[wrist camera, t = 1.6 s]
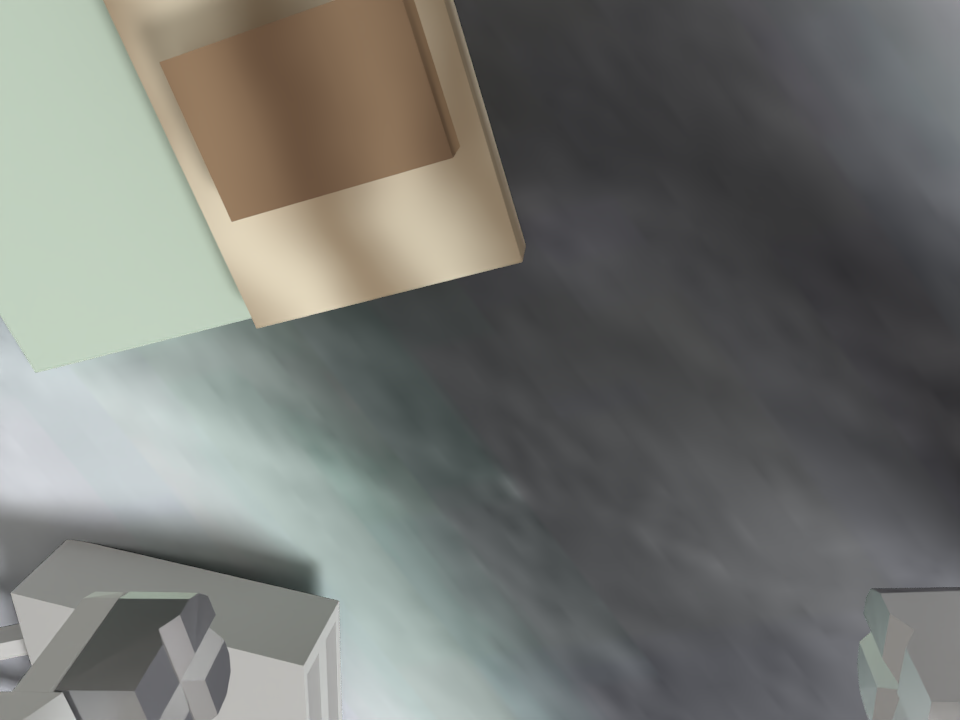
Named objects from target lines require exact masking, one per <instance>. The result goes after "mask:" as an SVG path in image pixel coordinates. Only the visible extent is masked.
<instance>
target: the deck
mask: <svg viewBox="0 0 960 720" xmlns="http://www.w3.org/2000/svg"><path fill="white" fill-rule="evenodd" d="M103 1H104V3H105V5H106V8H107V10H108V12H109V14H110V16H111V18H112V20H113V23H114V25H115V27H116V29H117V31H118V33H119V35H120V37H121V40H122V42H123V44H124V46H125V48H126V50H127V52H128V55H129V57H130V59H131V61H132V63H133V65H134V67H135V70H136V72H137V74H138V76H139V78H140V80H141V82H142V84H143V87H144V89H145V91H146V93H147V95H148V97H149V99H150V102H151V104H152V106H153V108H154V110H155V112H156V114H157V117H158V119H159V121H160V123H161V125H162V127H163V129H164V131H165V134H166V136H167V138H168V140H169V142H170V144H171V146H172V149H173V151H174V153H175V155H176V157H177V159H178V161H179V164H180V166H181V168H182V170H183V172H184V174H185V176H186V178H187V181H188V183H189V185H190V187H191V189H192V191H193V193H194V196H195V198H196V200H197V202H198V204H199V206H200V208H201V210H202V213H203V215H204V217H205V219H206V221H207V223H208V225H209V228H210V230H211V232H212V234H213V236H214V238H215V240H216V243H217V245H218V247H219V249H220V251H221V253H222V255H223V257H224V260H225V262H226V264H227V266H228V268H229V270H230V272H231V275H232V277H233V279H234V281H235V283H236V285H237V287H238V290H239V292H240V294H241V296H242V298H243V300H244V302H245V304H246V307H247V309H248V311H249V313H250V315H251V317H252V319H253V322H254V324H255V326H256V328H261V327H265V326H269V325H273V324H277V323H281V322H285V321H289V320H293V319H297V318H301V317H305V316H309V315H313V314H317V313H321V312H325V311H329V310H333V309H337V308H341V307H345V306H349V305H353V304H357V303H361V302H365V301H369V300H373V299H377V298H381V297H385V296H389V295H393V294H397V293H401V292H405V291H409V290H413V289H417V288H421V287H424V286H428V285H432V284H436V283H440V282H444V281H448V280H452V279H456V278H460V277H464V276H468V275H472V274H476V273H480V272H484V271H488V270H492V269H496V268H500V267H504V266H508V265H512V264H516V263H520V262H522V261H523V256H524V251H525V247H526V244H525V241H524V238H523V234H522V231H521V227H520V224H519V221H518V217H517V214H516V210H515V207H514V204H513V200H512V197H511V193H510V190H509V187H508V183H507V180H506V176H505V173H504V170H503V166H502V163H501V160H500V156H499V153H498V149H497V146H496V143H495V139H494V136H493V132H492V129H491V126H490V122H489V119H488V115H487V112H486V109H485V105H484V102H483V98H482V95H481V92H480V88H479V85H478V82H477V78H476V75H475V71H474V68H473V65H472V61H471V58H470V54H469V51H468V48H467V44H466V41H465V37H464V34H463V31H462V27H461V24H460V20H459V17H458V14H457V10H456V7H455V4H454V0H414V1H415V4H416V8H417V11H418V14H419V17H420V20H421V24H422V27H423V30H424V33H425V36H426V39H427V43H428V46H429V49H430V52H431V55H432V59H433V62H434V65H435V68H436V71H437V74H438V78H439V81H440V84H441V87H442V90H443V94H444V97H445V100H446V103H447V106H448V109H449V113H450V116H451V119H452V122H453V125H454V129H455V132H456V135H457V138H458V141H459V144H460V148H459V149H458V151H457V152H456V154H455V156H454V157H453V158H451V159H448V160H444V161H441V162H437V163H434V164H430V165H427V166H423V167H420V168H416V169H413V170H410V171H406V172H403V173H399V174H396V175H392V176H389V177H385V178H382V179H378V180H375V181H372V182H368V183H365V184H361V185H358V186H354V187H351V188H347V189H344V190H340V191H337V192H334V193H330V194H327V195H323V196H320V197H316V198H313V199H309V200H306V201H302V202H299V203H296V204H292V205H289V206H285V207H282V208H278V209H275V210H271V211H268V212H264V213H261V214H258V215H254V216H251V217H247V218H244V219H240V220H237V221H233V222H231V219H230V217H229V215H228V213H227V211H226V208H225V206H224V204H223V202H222V200H221V197H220V195H219V193H218V191H217V189H216V186H215V184H214V182H213V180H212V178H211V175H210V173H209V171H208V169H207V167H206V164H205V162H204V160H203V158H202V156H201V153H200V151H199V149H198V147H197V145H196V142H195V140H194V138H193V136H192V134H191V131H190V129H189V127H188V125H187V123H186V120H185V118H184V116H183V114H182V112H181V109H180V107H179V105H178V103H177V101H176V98H175V96H174V94H173V92H172V90H171V87H170V85H169V83H168V81H167V79H166V76H165V74H164V72H163V70H162V68H161V65H160V63H159V62H161V61H164V60H167V59H170V58H173V57H175V56H178V55H181V54H184V53H187V52H190V51H192V50H195V49H198V48H201V47H204V46H207V45H209V44H212V43H215V42H218V41H221V40H224V39H226V38H229V37H232V36H235V35H238V34H241V33H243V32H246V31H249V30H252V29H255V28H257V27H260V26H263V25H266V24H269V23H272V22H274V21H277V20H280V19H283V18H286V17H289V16H291V15H294V14H297V13H300V12H303V11H306V10H308V9H311V8H314V7H317V6H320V5H323V4H325V3H328V2H331V1H334V0H103Z"/></svg>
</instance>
